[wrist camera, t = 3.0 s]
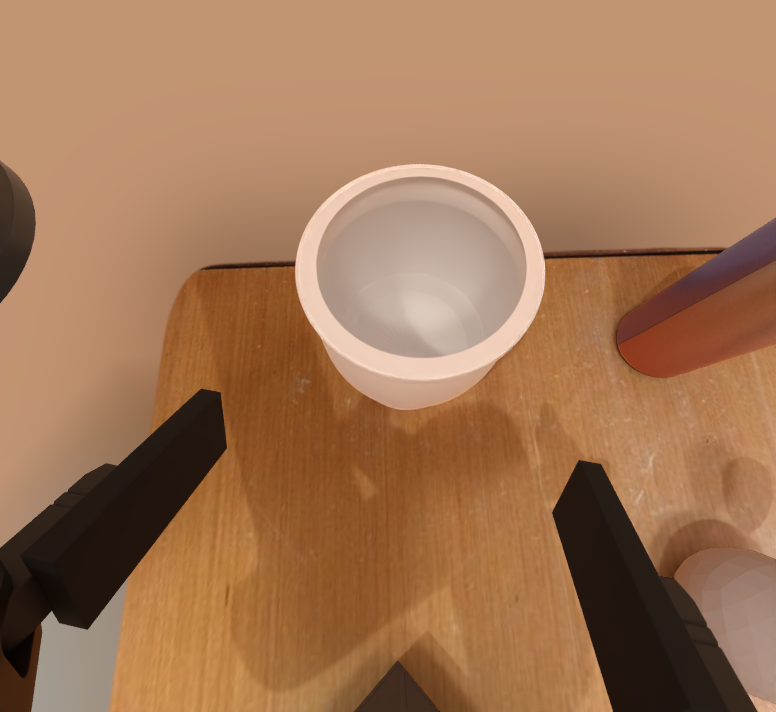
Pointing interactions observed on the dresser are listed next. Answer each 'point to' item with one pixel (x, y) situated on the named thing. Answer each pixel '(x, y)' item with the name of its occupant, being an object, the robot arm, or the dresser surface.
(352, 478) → the dresser surface
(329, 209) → the jar
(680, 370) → the beverage can
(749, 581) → the perfume bottle
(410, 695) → the tray
